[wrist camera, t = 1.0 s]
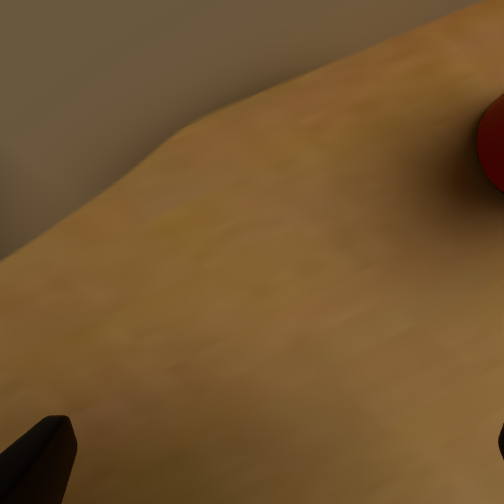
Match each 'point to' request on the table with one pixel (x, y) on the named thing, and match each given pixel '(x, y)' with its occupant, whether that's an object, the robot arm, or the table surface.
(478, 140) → the red can
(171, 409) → the table surface
